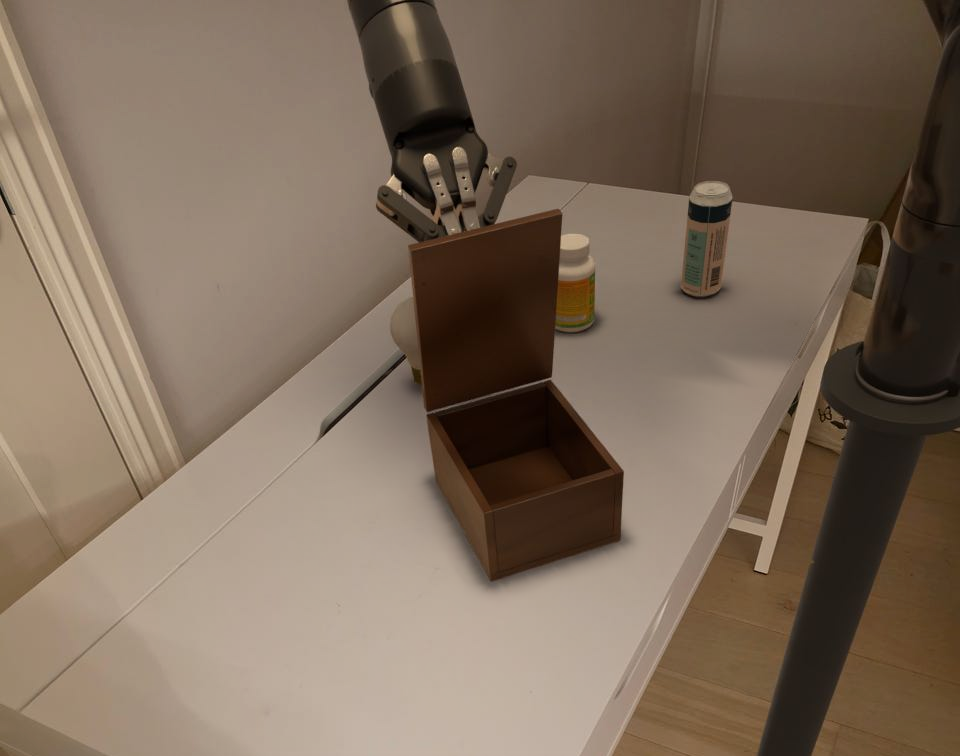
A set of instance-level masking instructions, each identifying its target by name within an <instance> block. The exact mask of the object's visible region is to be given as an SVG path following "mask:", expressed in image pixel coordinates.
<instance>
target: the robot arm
mask: <svg viewBox="0 0 960 756" xmlns="http://www.w3.org/2000/svg"><path fill="white" fill-rule="evenodd" d="M921 2H922V4H923V7H924V9H925V11H926V13H927V15H928V18H929V20H930V23H931V24H932V27H933V29H934V32H935V35H936V37H937V40H938V42H939V45H940V48H941V55H940V58H939V61H938V65H937V68H936V71H935V75H934V79H933V83H932V86H931V89H930V94H929V97H928V101H927V105H926V109H925V112H924V116H923V120H922V124H921V128H920V132H919V135H918V139H917V142H916V147H915V150H914V154H913V157H912V160H911V164H910V167H909V170H908V171H909V172H908V175H907V179H906V184H905V186H904V187H905V188H904V191H903V195H902V198H901V202H900V206H899V210H898V214H897V218H896V221H895V225H894V229H893V232H892V235H891V240H890V242H889V243H890V244H889V248H888V251H887V255H886V259H885V262H884V266H883V269H882V273H881V276H880V281H879V284H878V288H877V292H876V295H875V299H874V303H873V306H872V310H871V313H870V317H869V321H868V325H867V328H866V332H865V336H864V339H863V340H862V341H863V342H862V343H861V344H860V345H859V346H858V347H857V350H856V354H855V357H856V356H857V355H858V354H859V353H860V356H859V360H858V362H857V365H856V368H855V373H854V375H855V380H856V382H857V383H858V385H859V386H860V387H861V388H862V389H863V390H865V391H866V392H867V393H869V394H871V395H873V396H875V397H877V398H879V399H882V400H885V401H889V402H893V403H899V404H909V405H917V404H927V403H932V402H935V401H938V400H941V399H943V398H945V397H957V396H958V393H959V390H960V0H921ZM346 3H347V7H348V11H349V15H350V18H351V20H352V24H353V28H354V30H355V34H356V37H357V40H358V43H359V46H360V51H361V56H362V62H363V69H364V73H365V76H366V79H367V83H368V90H369V94H370V96H371V98H372V100H373V101H374V105H375V108H376V112H377V115H378V118H379V122H380V124H381V127H382V131H383V134H384V137H385V141H386V144H387V147H388V151H389V154H390V156H391V167H390V178H389V180H388V181H387V182H386V184H385V185H384V184H383V185H381V186H379V187H378V189H377V193H376V201H375V208H376V210H377V212H378V213H380V214H381V215H383V216H384V217H385V218H387V219H388V220H389V221H390V222H392V223H393V224H394V225H395V226H397V227H398V228H399V229H401V230H402V231H403V232H405V233H406V234H407V235H409V236H410V237H411V238H413V239H414V240H415V241H416V242H417V243H419V242H423V241H427V240H431V239H436V238H440V237H444V236H448V235H452V234H456V233H460V232H464V231H468V230H472V229H477V228H481V227H485V226H489V225H493V224H496V222H497V220H498V218H499V216H500V212H501V210H502V207H503V205H504V202H505V199H506V196H507V194H508V191H509V189H510V185H511V183H512V181H513V177H514V174H515V172H516V169H517V167H518V163H517V160H516V159H515V158H514V157H513V156H506V157H505V158H504V159H502V158H500V157H498V156H496V155H494V154H492V153H490V152H489V149H488V146H487V144H486V142H485V141H484V140H483V139H482V138H481V137H480V135H479V134H478V132H477V129H476V124H475V122H474V118H473V114H472V111H471V108H470V104H469V101H468V97H467V94H466V91H465V87H464V85H463V84H464V83H463V81H462V77H461V75H460V71H459V68H458V65H457V62H456V58H455V54H454V51H453V47H452V44H451V42H450V39H449V37H448V35H447V34H448V33H447V32H446V30H445V28H444V25H443V24H442V21H441V18H440V16H439V15H440V14H439V13H438V9H437V6H436V3H435V0H346ZM484 170H485V172H486V182H487V184H488V185H489V186H490V187H491V188H492V189H491V192H490V195H489V198H488V200H487V202H486V206H485V209H484V210H483V212H482V213H481V214H478V210H477V199H476V193H477V189H478V186H479V185H480V184H479V183H480V181H481V177H482V174H483V171H484ZM407 195H408V196H409V197H411V199H413V200H414V201H416V202H417V203H418V204H419V205H420V206H421V207H423V208H425V209H427V210H428V213H429V215H430V217H429V216H427V215H426V214H425V213H424V212H423V211H421V210H420V209H419V208H417V207H416V206H414V205H413V204H412V203H411V202H409V201H408V196H407Z"/></svg>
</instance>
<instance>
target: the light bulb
mask: <svg viewBox="0 0 960 756" xmlns="http://www.w3.org/2000/svg"><path fill="white" fill-rule="evenodd" d="M389 329H390V335H391V337H392V340H393V342H394V344H395V345H396V346H397V348H399V350H401V352H402V353H403V355H404V356H405V358H406V360H407V362H408V364H409V365H410V369H411V373H412V378H413V382H414V383H415V384H418V385H421V386H422V382H421V372H420V362H419V351H418V341H417V331H416V321H415V311H414V301H413V296H412V297H408V298H405V299H404V300H402V301H401V302H400V303H398V304H397V306H396V307H395V308H394V309H393V311H392V314H391V317H390V321H389Z"/></svg>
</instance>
